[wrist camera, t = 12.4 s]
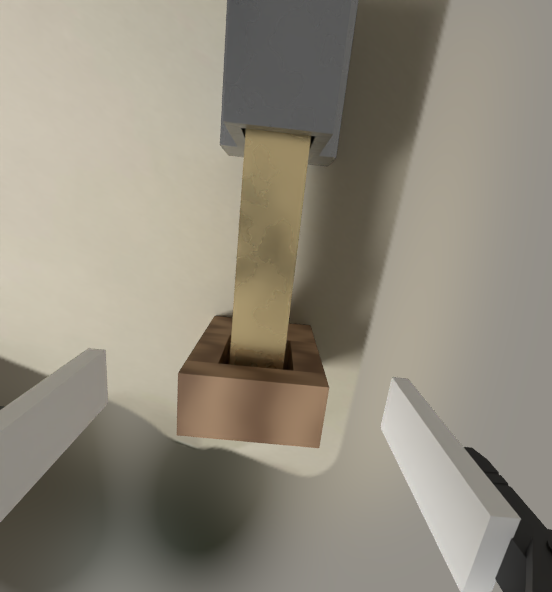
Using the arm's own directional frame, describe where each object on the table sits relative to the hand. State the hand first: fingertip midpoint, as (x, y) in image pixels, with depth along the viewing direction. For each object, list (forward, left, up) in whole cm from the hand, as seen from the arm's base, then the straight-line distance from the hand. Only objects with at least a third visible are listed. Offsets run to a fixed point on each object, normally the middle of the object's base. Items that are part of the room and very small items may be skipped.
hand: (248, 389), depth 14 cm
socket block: (0, -6, -20) cm, 21 cm away
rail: (0, +4, -14) cm, 15 cm away
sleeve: (0, +19, -20) cm, 28 cm away
